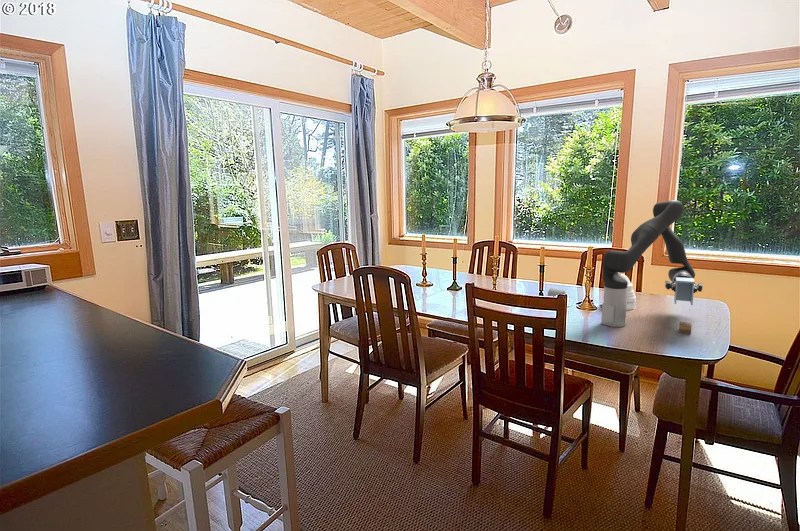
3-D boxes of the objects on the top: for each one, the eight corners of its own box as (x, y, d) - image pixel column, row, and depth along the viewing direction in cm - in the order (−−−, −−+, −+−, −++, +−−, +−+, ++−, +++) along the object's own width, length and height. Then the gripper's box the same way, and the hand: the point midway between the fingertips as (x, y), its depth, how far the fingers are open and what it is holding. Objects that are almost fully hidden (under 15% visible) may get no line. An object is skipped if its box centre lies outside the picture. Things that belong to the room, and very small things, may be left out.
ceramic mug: (562, 305, 225) (562, 291, 224) (546, 303, 230) (547, 289, 228) (567, 300, 234) (568, 287, 232) (552, 299, 238) (552, 285, 237)
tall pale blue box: (692, 305, 175) (694, 281, 173) (674, 303, 178) (676, 280, 176) (691, 301, 181) (693, 278, 179) (674, 299, 184) (675, 277, 182)
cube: (690, 334, 176) (691, 325, 175) (679, 333, 178) (679, 323, 177) (690, 331, 179) (690, 322, 178) (678, 330, 181) (679, 321, 180)
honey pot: (603, 306, 219) (604, 272, 216) (613, 301, 228) (615, 268, 224) (629, 311, 210) (631, 275, 206) (639, 305, 218) (641, 271, 215)
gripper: (664, 272, 194) (664, 279, 180) (703, 274, 186) (706, 282, 172) (663, 288, 195) (663, 297, 181) (701, 290, 188) (705, 300, 174)
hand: (684, 289), depth 177 cm, fingers closed on tall pale blue box, 6 cm apart
